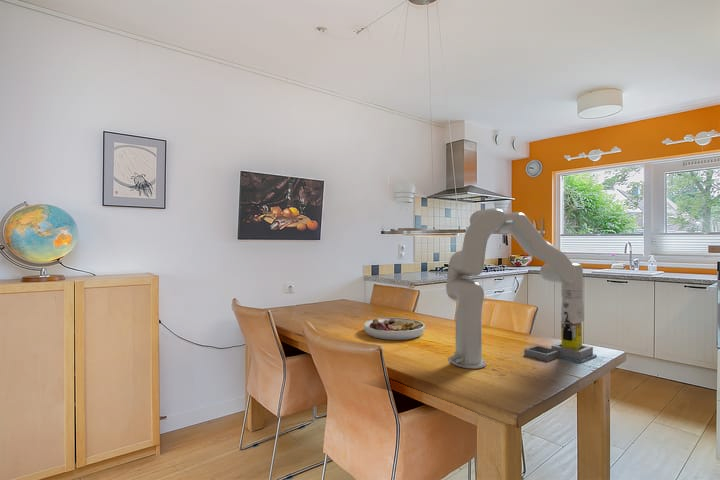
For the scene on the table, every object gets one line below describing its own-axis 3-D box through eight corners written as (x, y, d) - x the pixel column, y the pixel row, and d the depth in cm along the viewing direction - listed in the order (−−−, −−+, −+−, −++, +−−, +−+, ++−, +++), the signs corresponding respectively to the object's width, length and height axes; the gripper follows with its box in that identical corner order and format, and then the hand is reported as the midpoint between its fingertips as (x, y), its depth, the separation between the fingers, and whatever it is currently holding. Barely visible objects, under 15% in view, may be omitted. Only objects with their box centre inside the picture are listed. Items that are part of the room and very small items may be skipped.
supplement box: (582, 348, 154) (581, 321, 153) (577, 352, 149) (577, 324, 149) (566, 345, 158) (565, 319, 158) (561, 349, 154) (561, 322, 153)
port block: (581, 363, 144) (581, 353, 144) (547, 354, 155) (547, 345, 155) (596, 356, 152) (596, 347, 152) (563, 349, 163) (563, 340, 163)
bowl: (384, 324, 211) (384, 310, 211) (434, 332, 193) (434, 316, 193) (351, 335, 187) (351, 319, 187) (405, 345, 169) (405, 328, 169)
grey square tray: (547, 361, 146) (547, 355, 146) (524, 355, 154) (524, 349, 154) (560, 356, 152) (560, 350, 152) (536, 351, 160) (536, 345, 160)
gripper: (571, 297, 145) (571, 344, 145) (591, 293, 155) (591, 337, 156) (551, 295, 151) (551, 340, 151) (572, 291, 161) (572, 333, 162)
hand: (571, 338), depth 153 cm, fingers closed on supplement box, 6 cm apart
